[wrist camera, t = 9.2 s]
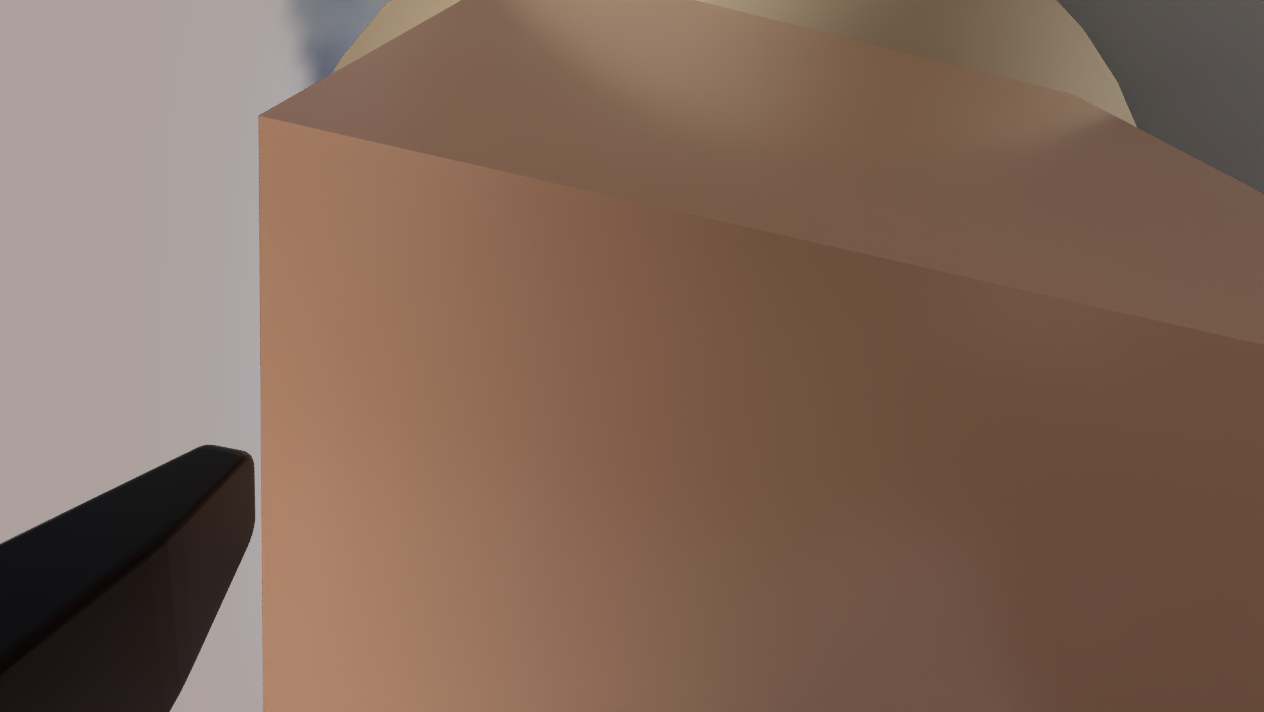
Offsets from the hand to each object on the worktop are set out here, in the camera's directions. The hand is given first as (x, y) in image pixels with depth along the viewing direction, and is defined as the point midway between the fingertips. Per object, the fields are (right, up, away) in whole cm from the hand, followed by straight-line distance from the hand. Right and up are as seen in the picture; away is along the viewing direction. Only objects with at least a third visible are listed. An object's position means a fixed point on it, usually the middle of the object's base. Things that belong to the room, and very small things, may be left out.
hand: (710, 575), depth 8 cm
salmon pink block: (0, +2, +3) cm, 4 cm away
